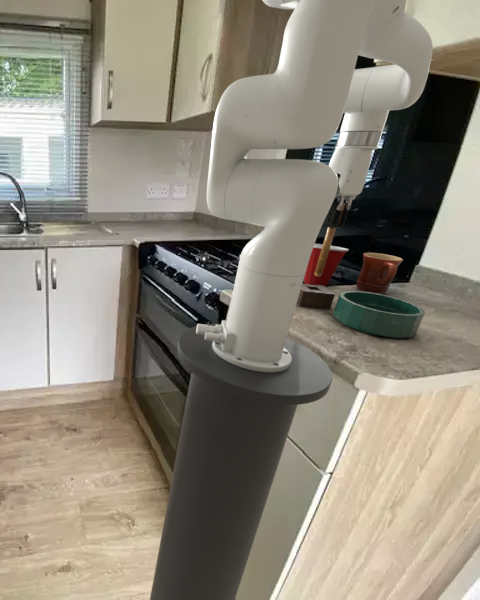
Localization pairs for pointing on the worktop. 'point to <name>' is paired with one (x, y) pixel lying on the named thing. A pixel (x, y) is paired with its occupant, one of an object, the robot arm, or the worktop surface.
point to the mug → (377, 272)
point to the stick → (325, 249)
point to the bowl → (378, 314)
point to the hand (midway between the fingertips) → (332, 226)
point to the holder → (315, 296)
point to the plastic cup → (329, 268)
